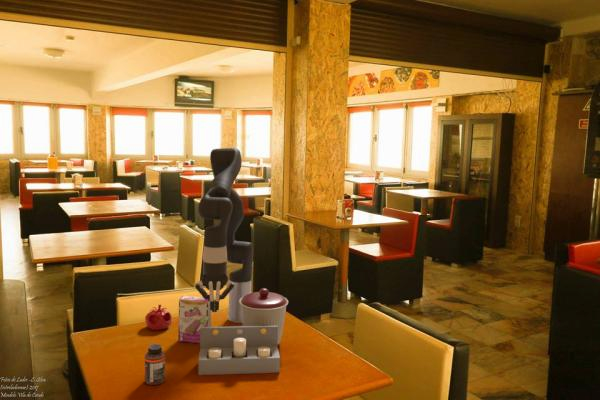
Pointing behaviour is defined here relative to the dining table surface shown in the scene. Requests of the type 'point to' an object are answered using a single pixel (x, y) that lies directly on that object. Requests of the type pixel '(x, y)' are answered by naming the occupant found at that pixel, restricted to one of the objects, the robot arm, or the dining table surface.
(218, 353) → the button
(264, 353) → the button
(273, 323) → the canister
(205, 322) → the candy bar box
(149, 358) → the supplement bottle
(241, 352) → the middle button
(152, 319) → the pomegranate
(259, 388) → the dining table surface
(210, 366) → the console
